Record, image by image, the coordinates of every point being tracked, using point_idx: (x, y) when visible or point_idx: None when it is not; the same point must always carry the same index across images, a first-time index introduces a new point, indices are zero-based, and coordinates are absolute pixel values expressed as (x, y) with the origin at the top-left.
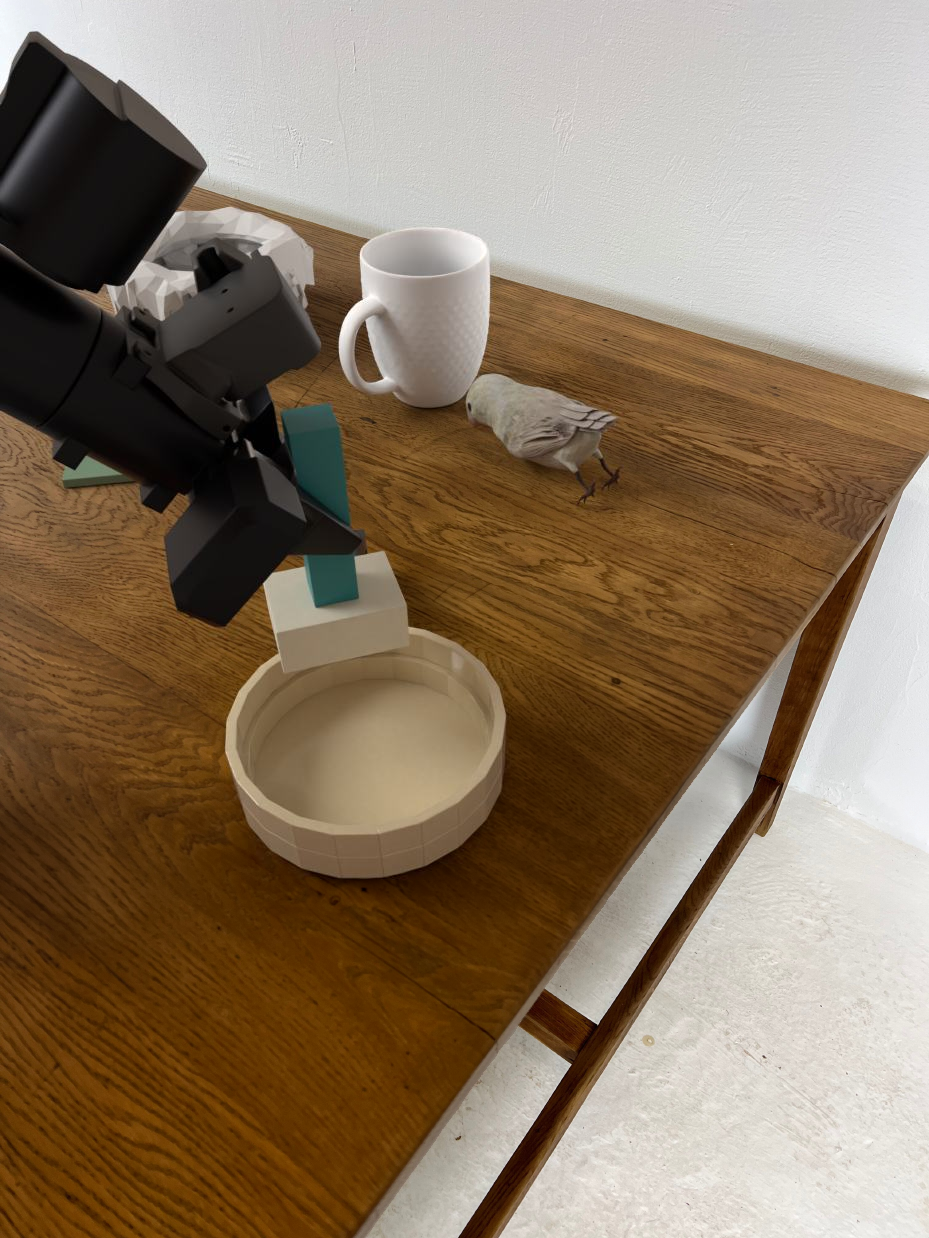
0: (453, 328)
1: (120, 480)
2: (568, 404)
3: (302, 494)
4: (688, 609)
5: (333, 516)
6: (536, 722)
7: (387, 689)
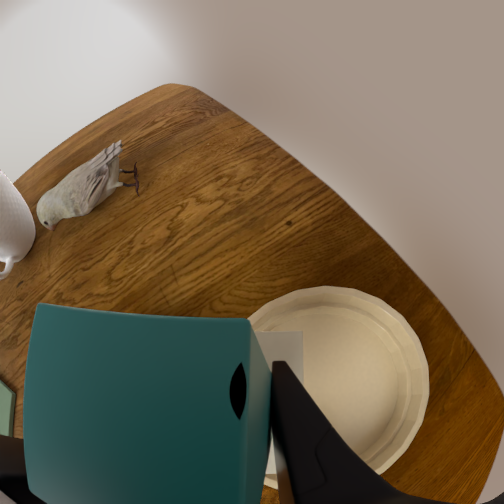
0: (8, 203)
1: (11, 435)
2: (89, 162)
3: (347, 483)
4: (245, 172)
5: (297, 404)
6: (309, 277)
7: None
